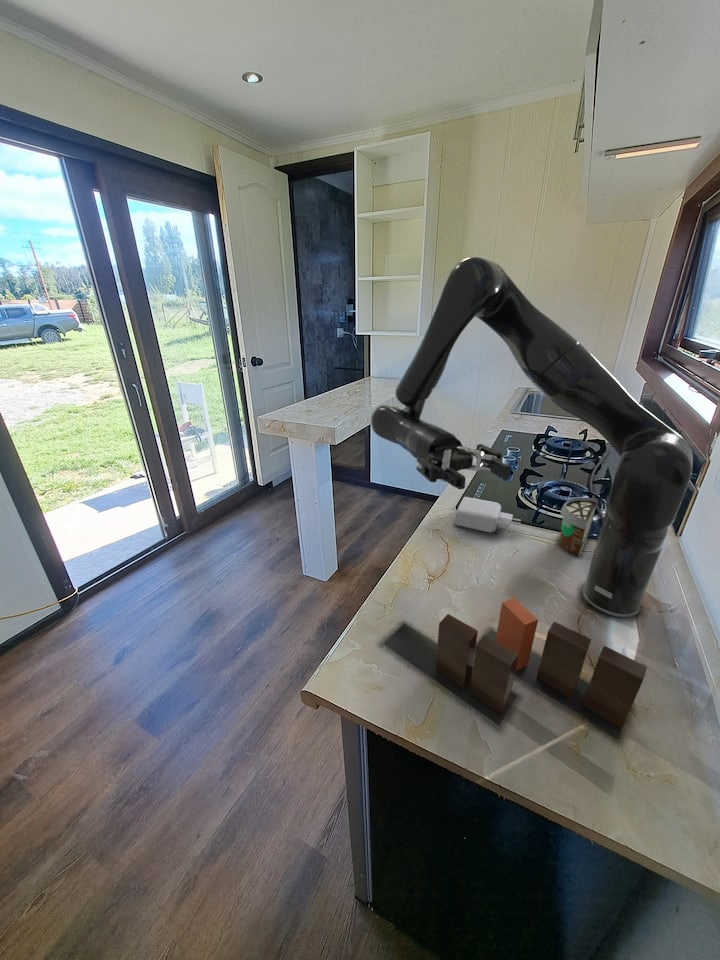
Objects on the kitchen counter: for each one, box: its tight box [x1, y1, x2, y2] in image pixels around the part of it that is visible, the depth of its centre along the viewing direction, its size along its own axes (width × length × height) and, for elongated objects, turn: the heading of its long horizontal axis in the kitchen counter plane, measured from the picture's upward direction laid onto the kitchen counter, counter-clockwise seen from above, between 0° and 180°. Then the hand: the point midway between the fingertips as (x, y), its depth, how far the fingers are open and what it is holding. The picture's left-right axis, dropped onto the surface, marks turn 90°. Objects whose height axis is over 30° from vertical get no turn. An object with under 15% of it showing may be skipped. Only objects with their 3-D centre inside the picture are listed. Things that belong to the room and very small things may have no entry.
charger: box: [454, 496, 522, 533], centre depth 98 cm, size 5×9×15 cm
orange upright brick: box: [496, 597, 539, 671], centre depth 61 cm, size 2×5×10 cm, turn 22°
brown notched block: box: [486, 621, 648, 741], centre depth 57 cm, size 6×21×10 cm, turn 47°
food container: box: [559, 496, 599, 557], centre depth 89 cm, size 12×6×10 cm, turn 141°
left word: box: [383, 613, 519, 727], centre depth 59 cm, size 6×21×10 cm, turn 47°
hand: (486, 478), depth 60 cm, fingers open, 8 cm apart
